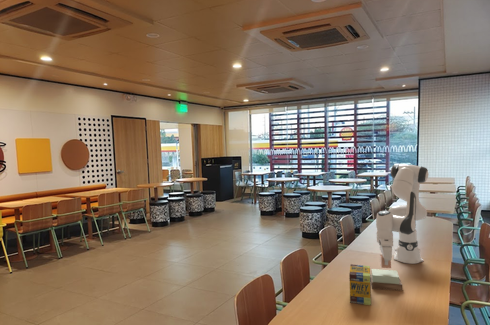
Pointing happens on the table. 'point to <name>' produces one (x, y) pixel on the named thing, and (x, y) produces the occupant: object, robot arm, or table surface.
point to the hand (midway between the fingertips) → (385, 262)
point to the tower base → (386, 285)
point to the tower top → (385, 276)
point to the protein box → (360, 284)
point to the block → (384, 262)
